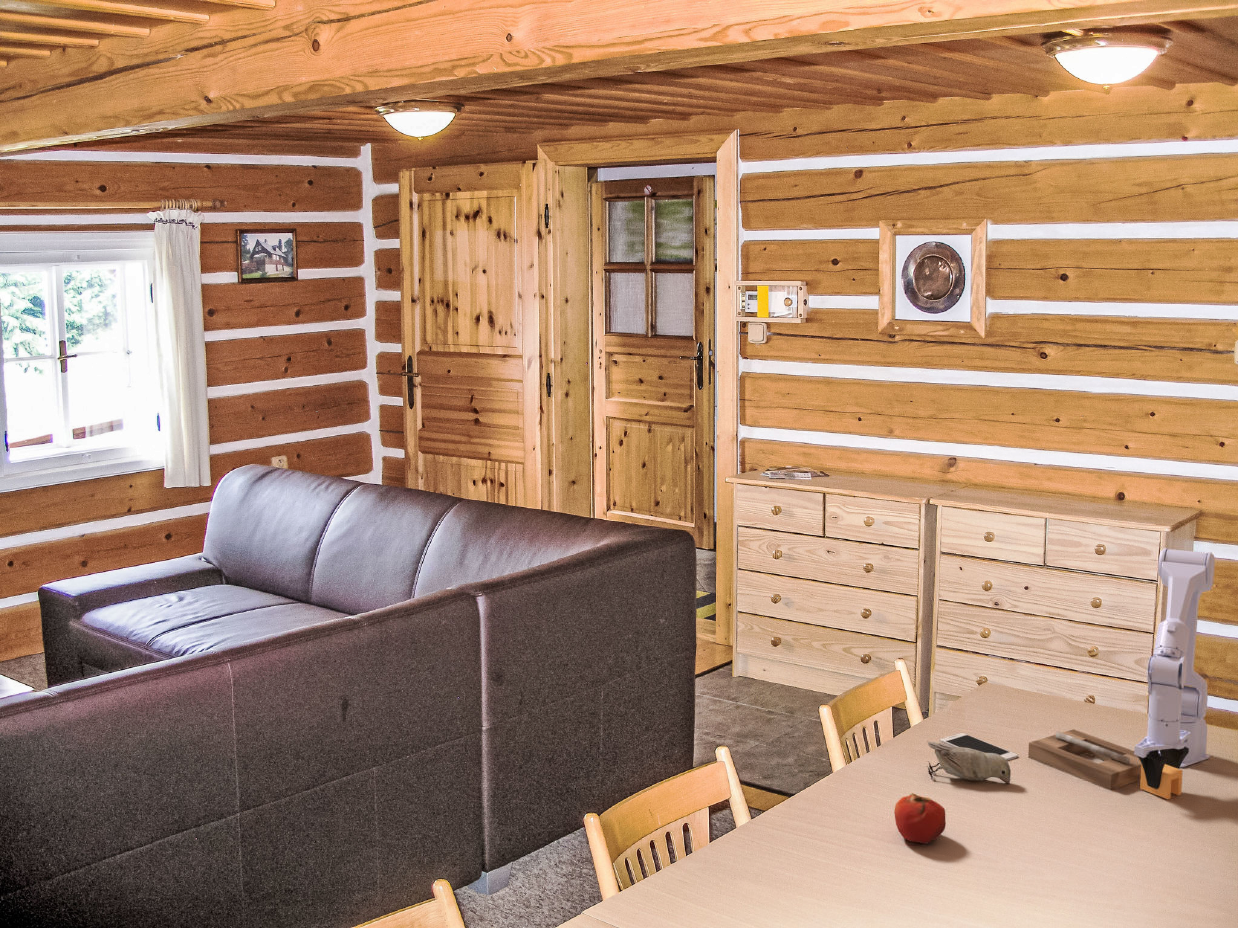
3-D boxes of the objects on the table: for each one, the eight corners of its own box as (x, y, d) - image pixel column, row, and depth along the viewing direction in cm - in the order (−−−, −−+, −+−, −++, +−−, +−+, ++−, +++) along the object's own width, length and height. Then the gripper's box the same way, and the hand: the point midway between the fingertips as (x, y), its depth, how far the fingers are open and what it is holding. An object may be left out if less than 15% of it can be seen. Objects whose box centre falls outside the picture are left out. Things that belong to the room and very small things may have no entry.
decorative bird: (1010, 790, 245) (1011, 753, 244) (925, 781, 250) (926, 746, 249) (1010, 779, 250) (1011, 743, 249) (927, 771, 255) (927, 736, 254)
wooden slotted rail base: (1073, 743, 268) (1074, 722, 267) (1155, 774, 251) (1156, 752, 250) (1028, 757, 261) (1029, 736, 260) (1110, 789, 244) (1111, 767, 243)
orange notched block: (1153, 783, 246) (1154, 760, 245) (1181, 793, 241) (1182, 770, 240) (1140, 788, 244) (1141, 764, 243) (1167, 799, 239) (1168, 775, 238)
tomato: (911, 822, 231) (912, 781, 230) (955, 838, 224) (956, 795, 223) (882, 838, 224) (883, 796, 223) (927, 855, 218) (928, 811, 217)
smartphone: (995, 766, 257) (995, 761, 257) (939, 743, 270) (939, 738, 270) (1018, 758, 261) (1018, 754, 261) (962, 736, 274) (962, 731, 274)
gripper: (1159, 730, 233) (1155, 799, 235) (1206, 715, 240) (1202, 782, 243) (1126, 719, 239) (1123, 787, 241) (1173, 704, 246) (1170, 770, 248)
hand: (1160, 784), depth 242 cm, fingers closed on orange notched block, 4 cm apart
